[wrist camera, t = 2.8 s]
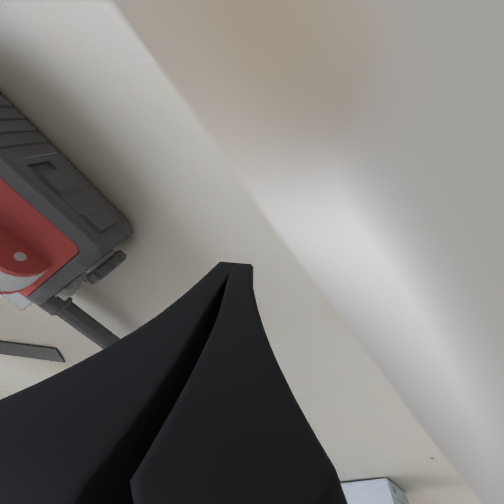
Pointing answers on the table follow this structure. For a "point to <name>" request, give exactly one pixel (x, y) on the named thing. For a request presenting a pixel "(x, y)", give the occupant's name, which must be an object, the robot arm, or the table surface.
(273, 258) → the table surface
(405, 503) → the skincare box
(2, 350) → the tape marks
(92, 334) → the walkie-talkie
